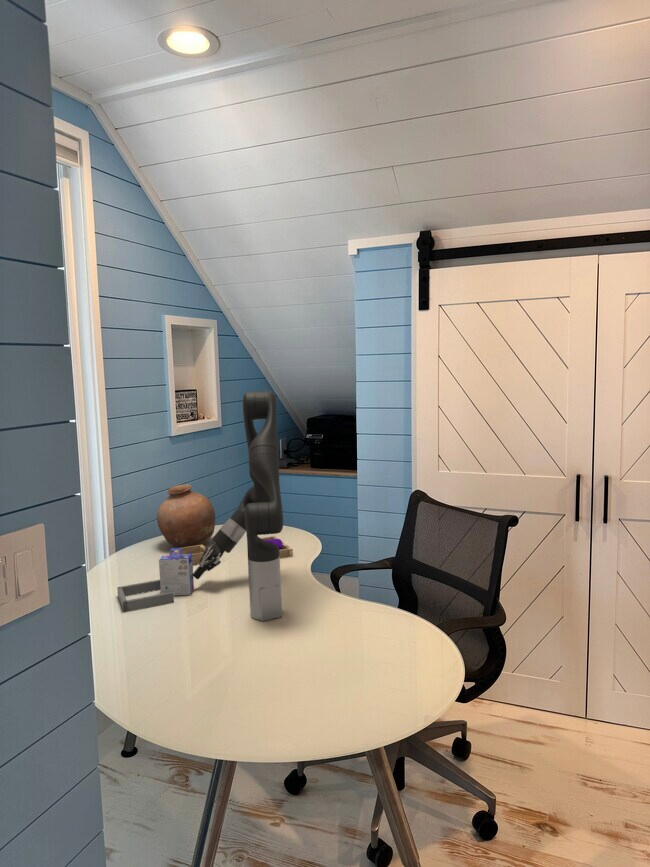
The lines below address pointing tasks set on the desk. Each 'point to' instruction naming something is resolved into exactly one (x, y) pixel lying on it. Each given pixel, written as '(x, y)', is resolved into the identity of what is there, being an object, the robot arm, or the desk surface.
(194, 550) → the wooden tray
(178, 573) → the ink cartridge box
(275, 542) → the crystal
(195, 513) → the pottery
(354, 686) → the desk surface
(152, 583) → the bay
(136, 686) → the desk surface
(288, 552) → the crystal cradle
